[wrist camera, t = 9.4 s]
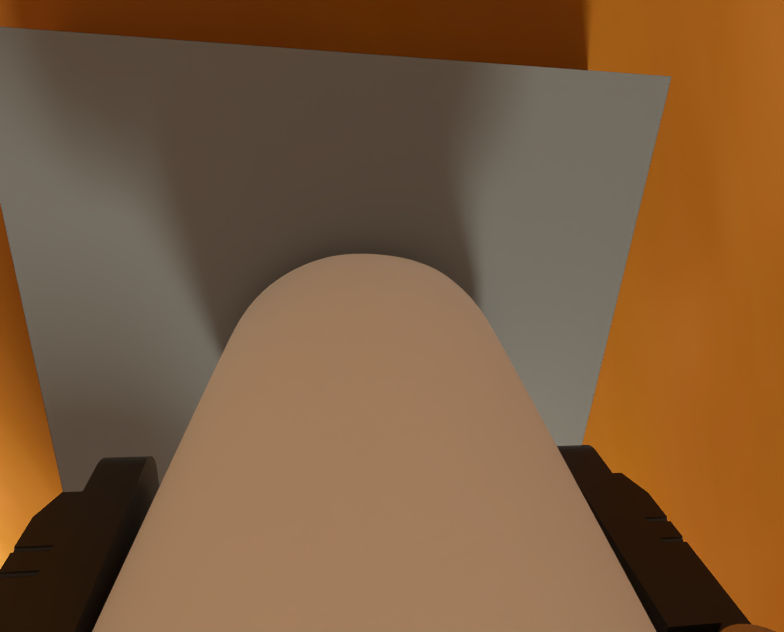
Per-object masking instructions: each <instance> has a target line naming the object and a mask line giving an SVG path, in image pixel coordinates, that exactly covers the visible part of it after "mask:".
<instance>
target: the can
mask: <svg viewBox="0 0 784 632" xmlns="http://www.w3.org/2000/svg"><path fill="white" fill-rule="evenodd" d="M92 632H656V630H655V628H654V626H653V625H652V623H651V621H650V619H649V617H648V615H647V613H646V611H645V610H644V608H643V606H642V604H641V602H640V600H639V598H638V596H637V595H636V593H635V591H634V589H633V587H632V585H631V583H630V581H629V580H628V578H627V576H626V574H625V572H624V570H623V568H622V567H621V565H620V563H619V561H618V559H617V557H616V555H615V553H614V552H613V550H612V548H611V546H610V544H609V542H608V540H607V539H606V537H605V535H604V533H603V531H602V529H601V527H600V526H599V524H598V522H597V520H596V518H595V516H594V514H593V513H592V511H591V509H590V507H589V505H588V503H587V501H586V500H585V498H584V496H583V494H582V492H581V490H580V488H579V487H578V485H577V483H576V481H575V479H574V477H573V475H572V474H571V472H570V470H569V468H568V466H567V464H566V462H565V461H564V459H563V457H562V455H561V453H560V451H559V449H558V448H557V446H556V444H555V442H554V440H553V438H552V437H551V435H550V433H549V431H548V429H547V427H546V425H545V424H544V422H543V420H542V418H541V416H540V414H539V413H538V411H537V409H536V407H535V405H534V403H533V401H532V400H531V398H530V396H529V394H528V392H527V390H526V389H525V387H524V385H523V383H522V381H521V379H520V378H519V376H518V374H517V372H516V370H515V368H514V367H513V365H512V363H511V361H510V359H509V357H508V356H507V354H506V352H505V350H504V348H503V347H502V345H501V343H500V341H499V340H498V338H497V336H496V334H495V332H494V331H493V329H492V327H491V325H490V324H489V322H488V320H487V319H486V317H485V316H484V314H483V313H482V311H481V310H480V308H479V307H478V306H477V305H476V303H475V302H474V301H473V300H472V299H471V297H470V296H469V295H468V294H467V293H466V292H465V291H464V290H463V289H462V288H461V287H460V286H458V285H457V284H456V283H455V282H454V281H452V280H451V279H450V278H449V277H447V276H446V275H444V274H443V273H441V272H440V271H438V270H436V269H434V268H432V267H430V266H427V265H425V264H422V263H419V262H417V261H413V260H410V259H405V258H401V257H396V256H389V255H380V254H344V255H337V256H331V257H327V258H323V259H319V260H316V261H313V262H310V263H308V264H305V265H303V266H301V267H299V268H296V269H294V270H293V271H291V272H289V273H287V274H285V275H284V276H282V277H281V278H279V279H278V280H276V281H275V282H274V283H272V284H271V285H270V286H269V287H267V288H266V289H265V290H264V291H263V292H262V293H261V294H260V295H259V296H258V297H257V298H256V299H255V300H254V301H253V302H252V304H251V305H250V306H249V307H248V309H247V310H246V311H245V313H244V314H243V316H242V317H241V319H240V320H239V322H238V324H237V326H236V327H235V329H234V331H233V333H232V335H231V337H230V339H229V341H228V343H227V345H226V347H225V349H224V351H223V353H222V355H221V357H220V359H219V362H218V364H217V366H216V368H215V370H214V372H213V374H212V376H211V378H210V380H209V383H208V385H207V387H206V389H205V391H204V393H203V395H202V397H201V399H200V402H199V404H198V406H197V408H196V410H195V412H194V414H193V416H192V419H191V421H190V423H189V425H188V427H187V429H186V431H185V433H184V436H183V438H182V440H181V442H180V444H179V446H178V448H177V451H176V453H175V455H174V457H173V459H172V461H171V463H170V465H169V468H168V470H167V472H166V474H165V476H164V478H163V480H162V483H161V485H160V487H159V489H158V491H157V493H156V495H155V498H154V500H153V502H152V504H151V506H150V508H149V510H148V513H147V515H146V517H145V519H144V521H143V523H142V525H141V528H140V530H139V532H138V534H137V536H136V538H135V540H134V543H133V545H132V547H131V549H130V551H129V553H128V556H127V558H126V560H125V562H124V564H123V566H122V568H121V571H120V573H119V575H118V577H117V579H116V581H115V583H114V586H113V588H112V590H111V592H110V594H109V596H108V599H107V601H106V603H105V605H104V607H103V609H102V611H101V614H100V616H99V618H98V620H97V622H96V624H95V627H94V629H93V631H92Z"/></svg>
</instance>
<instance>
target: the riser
mask: <svg viewBox="0 0 784 632" xmlns="http://www.w3.org/2000/svg"><path fill="white" fill-rule="evenodd" d="M670 80H671V76H657V75H644V74H630V73H617V72H603V71H590V70H576V69H563V68H549V67H536V66H522V65H509V64H496V63H482V62H469V61H455V60H442V59H428V58H415V57H401V56H388V55H374V54H361V53H347V52H334V51H321V50H307V49H294V48H280V47H267V46H253V45H240V44H226V43H213V42H199V41H186V40H172V39H159V38H145V37H132V36H119V35H105V34H92V33H78V32H65V31H51V30H38V29H24V28H11V27H0V204H1V209H2V213H3V218H4V222H5V227H6V232H7V236H8V241H9V245H10V250H11V255H12V259H13V264H14V268H15V273H16V278H17V282H18V287H19V291H20V296H21V300H22V305H23V310H24V314H25V319H26V323H27V328H28V333H29V337H30V342H31V346H32V351H33V356H34V360H35V365H36V369H37V374H38V379H39V383H40V388H41V392H42V397H43V401H44V406H45V411H46V415H47V420H48V424H49V429H50V434H51V438H52V443H53V447H54V452H55V457H56V461H57V466H58V470H59V475H60V480H61V484H62V489H63V492H78V491H83V490H84V488H85V486H86V484H87V482H88V480H89V479H90V477H91V475H92V473H93V471H94V469H95V467H96V466H97V464H98V462H99V461H100V460H101V459H102V458H106V457H142V456H152V457H153V458H154V459H155V461H156V466H157V472H158V480H159V487H160V485H161V483H162V480H163V478H164V476H165V474H166V472H167V470H168V468H169V465H170V463H171V461H172V459H173V457H174V455H175V453H176V451H177V448H178V446H179V444H180V442H181V440H182V438H183V436H184V433H185V431H186V429H187V427H188V425H189V423H190V421H191V419H192V416H193V414H194V412H195V410H196V408H197V406H198V404H199V402H200V399H201V397H202V395H203V393H204V391H205V389H206V387H207V385H208V383H209V380H210V378H211V376H212V374H213V372H214V370H215V368H216V366H217V364H218V362H219V359H220V357H221V355H222V353H223V351H224V349H225V347H226V345H227V343H228V341H229V339H230V337H231V335H232V333H233V331H234V329H235V327H236V326H237V324H238V322H239V320H240V319H241V317H242V316H243V314H244V313H245V311H246V310H247V309H248V307H249V306H250V305H251V304H252V302H253V301H254V300H255V299H256V298H257V297H258V296H259V295H260V294H261V293H262V292H263V291H264V290H265V289H266V288H267V287H269V286H270V285H271V284H272V283H274V282H275V281H276V280H278V279H279V278H281V277H282V276H284V275H285V274H287V273H289V272H291V271H293V270H294V269H296V268H299V267H301V266H303V265H305V264H308V263H310V262H313V261H316V260H319V259H323V258H327V257H331V256H337V255H344V254H380V255H389V256H396V257H401V258H405V259H410V260H413V261H417V262H419V263H422V264H425V265H427V266H430V267H432V268H434V269H436V270H438V271H440V272H441V273H443V274H444V275H446V276H447V277H449V278H450V279H451V280H452V281H454V282H455V283H456V284H457V285H458V286H460V287H461V288H462V289H463V290H464V291H465V292H466V293H467V294H468V295H469V296H470V297H471V299H472V300H473V301H474V302H475V303H476V305H477V306H478V307H479V308H480V310H481V311H482V313H483V314H484V316H485V317H486V319H487V320H488V322H489V324H490V325H491V327H492V329H493V331H494V332H495V334H496V336H497V338H498V340H499V341H500V343H501V345H502V347H503V348H504V350H505V352H506V354H507V356H508V357H509V359H510V361H511V363H512V365H513V367H514V368H515V370H516V372H517V374H518V376H519V378H520V379H521V381H522V383H523V385H524V387H525V389H526V390H527V392H528V394H529V396H530V398H531V400H532V401H533V403H534V405H535V407H536V409H537V411H538V413H539V414H540V416H541V418H542V420H543V422H544V424H545V425H546V427H547V429H548V431H549V433H550V435H551V437H552V438H553V440H554V442H555V444H556V446H570V445H582V442H583V438H584V433H585V429H586V425H587V421H588V417H589V413H590V409H591V405H592V401H593V397H594V392H595V388H596V384H597V380H598V376H599V372H600V368H601V364H602V360H603V355H604V351H605V347H606V343H607V339H608V335H609V331H610V327H611V323H612V319H613V314H614V310H615V306H616V302H617V298H618V294H619V290H620V286H621V282H622V277H623V273H624V269H625V265H626V261H627V257H628V253H629V249H630V245H631V241H632V236H633V232H634V228H635V224H636V220H637V216H638V212H639V208H640V204H641V199H642V195H643V191H644V187H645V183H646V179H647V175H648V171H649V167H650V163H651V158H652V154H653V150H654V146H655V142H656V138H657V134H658V130H659V126H660V121H661V117H662V113H663V109H664V105H665V101H666V97H667V93H668V89H669V85H670Z"/></svg>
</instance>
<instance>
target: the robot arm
mask: <svg viewBox="0 0 784 632" xmlns="http://www.w3.org/2000/svg"><path fill="white" fill-rule="evenodd" d="M557 448H558V449H559V451H560V453H561V455H562V457H563V459H564V461H565V462H566V464H567V466H568V468H569V470H570V472H571V474H572V475H573V477H574V479H575V481H576V483H577V485H578V487H579V488H580V490H581V492H582V494H583V496H584V498H585V500H586V501H587V503H588V505H589V507H590V509H591V511H592V513H593V514H594V516H595V518H596V520H597V522H598V524H599V526H600V527H601V529H602V531H603V533H604V535H605V537H606V539H607V540H608V542H609V544H610V546H611V548H612V550H613V552H614V553H615V555H616V557H617V559H618V561H619V563H620V565H621V567H622V568H623V570H624V572H625V574H626V576H627V578H628V580H629V581H630V583H631V585H632V587H633V589H634V591H635V593H636V595H637V596H638V598H639V600H640V602H641V604H642V606H643V608H644V610H645V611H646V613H647V615H648V617H649V619H650V621H651V623H652V625H653V626H654V628H655V630H656V632H775V631H773V630H770V629H768V628H765V627H761V626H757V625H752V624H751V623H750V622H749V621H748V619H747V618H746V617H745V616H744V614H743V613H742V612H741V610H740V609H739V608H738V607H737V605H736V604H735V603H734V602H733V600H732V599H731V598H730V596H729V595H728V594H727V593H726V591H725V590H724V589H723V588H722V586H721V585H720V584H719V582H718V581H717V580H716V579H715V577H714V576H713V575H712V574H711V572H710V571H709V570H708V568H707V567H706V566H705V565H704V563H703V562H702V561H701V560H700V558H699V557H698V556H697V554H696V553H695V552H694V551H693V549H692V548H691V547H690V546H689V544H688V543H687V542H683V539H682V535H681V534H680V533H679V532H678V530H677V529H676V528H675V526H674V525H673V524H672V523H671V521H669V522H668V521H667V516H666V515H665V514H664V512H663V511H662V510H661V509H660V507H659V506H658V505H657V504H656V502H655V501H654V500H653V498H652V497H651V496H650V495H649V493H648V492H646V491H645V490H644V489H642V488H641V487H640V486H638V485H637V484H635V483H634V482H633V481H631V480H630V479H629V478H627V477H626V476H625V475H623V474H622V473H612V472H611V471H610V469H609V468H608V467H607V465H606V464H605V462H604V461H603V460H602V458H601V457H600V456H599V454H598V453H597V452H596V450H595V449H594V448H593V447H591V446H589V445H570V446H557ZM158 489H159V480H158V472H157V466H156V461H155V459H154V458H153V457H152V456H142V457H106V458H102V459H101V460H100V461H99V462H98V464H97V466H96V467H95V469H94V471H93V473H92V475H91V477H90V479H89V480H88V482H87V484H86V486H85V488H84V490H83V491H78V492H62V493H61V494H60V495H59V496H57V497H56V498H55V499H54V500H53V501H51V502H50V503H49V504H48V505H47V506H46V507H44V508H43V509H42V510H41V511H40V512H38V513H37V514H36V515H35V516H34V517H33V518H32V519H31V521H30V523H29V524H28V526H27V527H26V529H25V531H24V532H23V534H22V535H21V537H20V539H19V540H18V542H17V544H16V545H15V547H14V552H13V553H10V555H9V556H8V558H7V560H6V561H5V563H4V564H3V566H2V568H1V569H0V632H92V631H93V629H94V627H95V624H96V622H97V620H98V618H99V616H100V614H101V611H102V609H103V607H104V605H105V603H106V601H107V599H108V596H109V594H110V592H111V590H112V588H113V586H114V583H115V581H116V579H117V577H118V575H119V573H120V571H121V568H122V566H123V564H124V562H125V560H126V558H127V556H128V553H129V551H130V549H131V547H132V545H133V543H134V540H135V538H136V536H137V534H138V532H139V530H140V528H141V525H142V523H143V521H144V519H145V517H146V515H147V513H148V510H149V508H150V506H151V504H152V502H153V500H154V498H155V495H156V493H157V491H158Z"/></svg>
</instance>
